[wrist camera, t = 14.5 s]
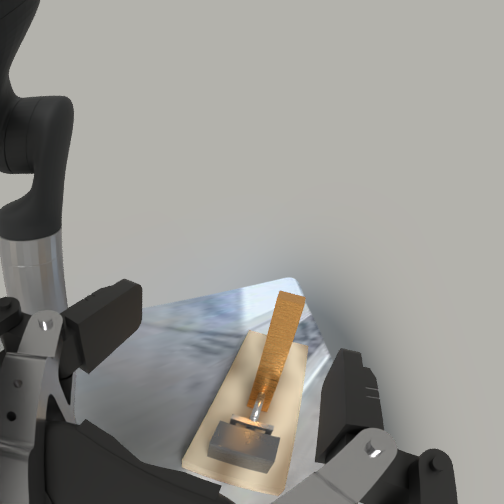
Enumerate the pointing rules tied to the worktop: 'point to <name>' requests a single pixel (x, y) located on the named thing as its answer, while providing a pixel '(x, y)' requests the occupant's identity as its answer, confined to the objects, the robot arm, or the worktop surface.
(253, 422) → the upright wooden paddle
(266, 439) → the gray rectangular block
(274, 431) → the rail board
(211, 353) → the worktop surface
